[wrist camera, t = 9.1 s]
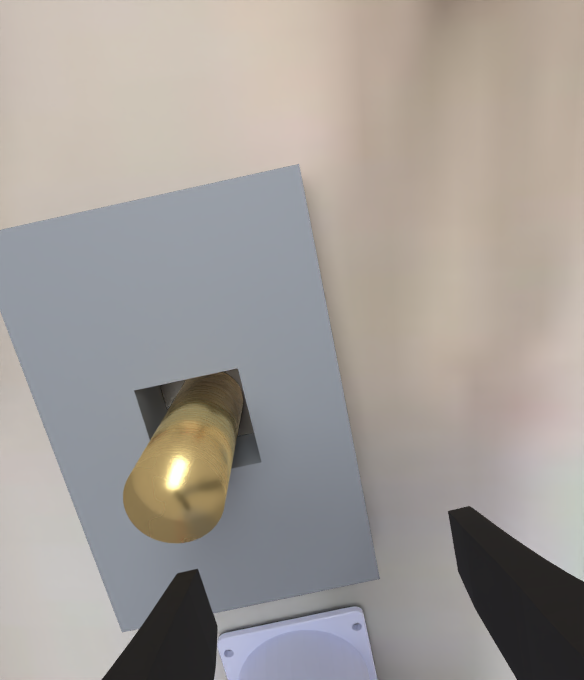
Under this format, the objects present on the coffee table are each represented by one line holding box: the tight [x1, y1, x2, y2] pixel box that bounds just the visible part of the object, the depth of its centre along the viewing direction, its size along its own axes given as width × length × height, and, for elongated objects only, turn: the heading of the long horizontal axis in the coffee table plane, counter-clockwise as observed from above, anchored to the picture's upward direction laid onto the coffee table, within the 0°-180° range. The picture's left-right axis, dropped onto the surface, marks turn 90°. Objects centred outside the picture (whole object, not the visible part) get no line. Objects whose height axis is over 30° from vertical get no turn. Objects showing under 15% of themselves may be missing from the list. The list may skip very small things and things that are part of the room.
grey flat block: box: [0, 164, 380, 632], centre depth 19 cm, size 18×12×3 cm, turn 12°
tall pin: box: [123, 372, 243, 543], centre depth 17 cm, size 3×3×8 cm
